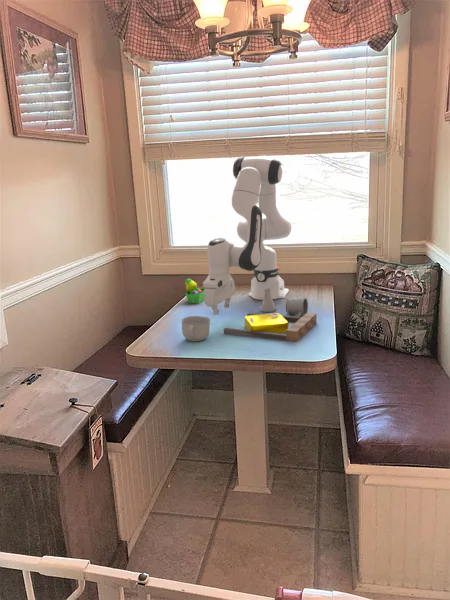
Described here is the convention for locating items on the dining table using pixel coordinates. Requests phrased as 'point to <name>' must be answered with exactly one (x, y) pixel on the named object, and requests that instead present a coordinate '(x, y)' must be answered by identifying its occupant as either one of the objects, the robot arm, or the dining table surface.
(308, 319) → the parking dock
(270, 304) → the flask
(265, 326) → the element tile
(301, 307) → the ceramic mug
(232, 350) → the dining table surface
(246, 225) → the robot arm
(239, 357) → the dining table surface
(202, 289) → the fruit basket
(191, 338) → the teacup
